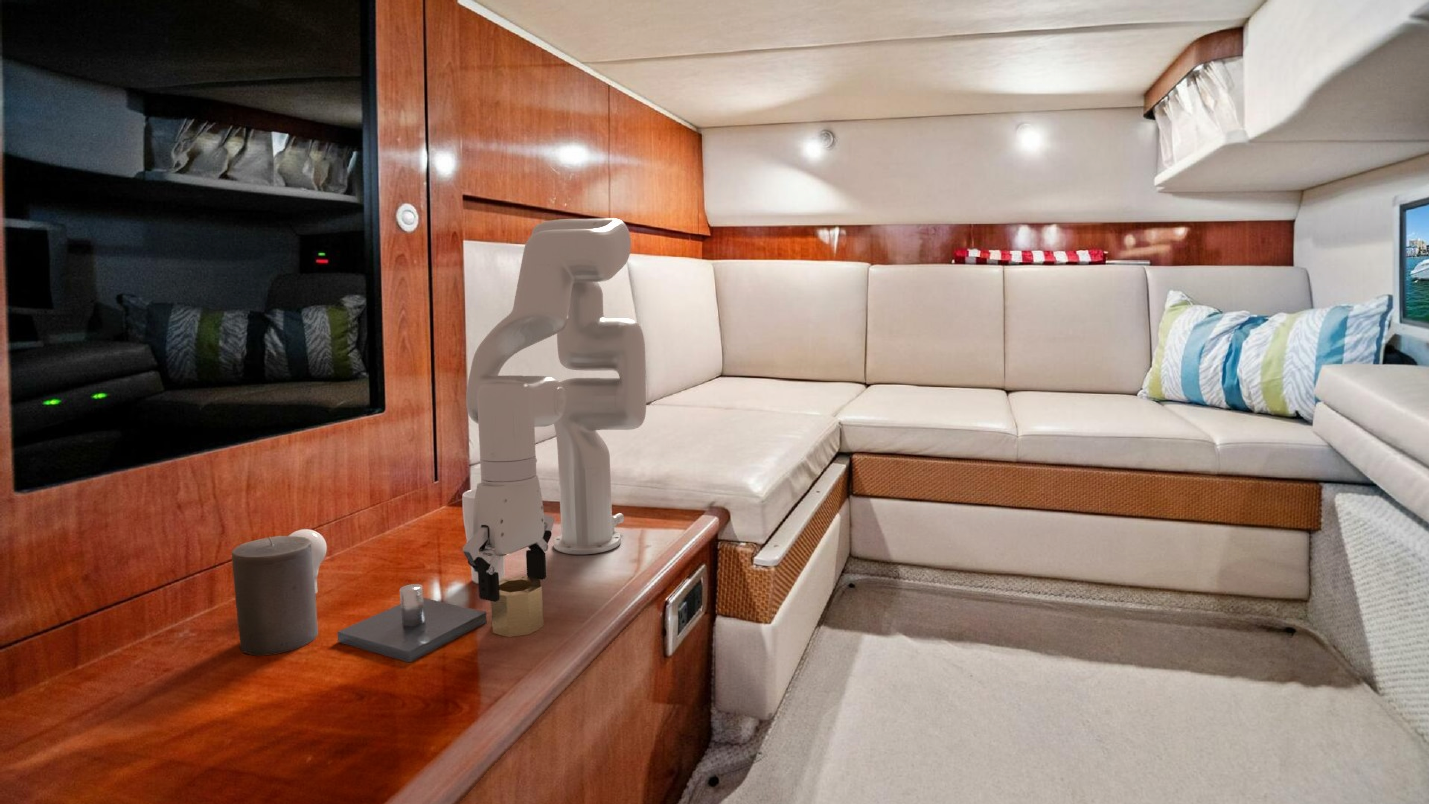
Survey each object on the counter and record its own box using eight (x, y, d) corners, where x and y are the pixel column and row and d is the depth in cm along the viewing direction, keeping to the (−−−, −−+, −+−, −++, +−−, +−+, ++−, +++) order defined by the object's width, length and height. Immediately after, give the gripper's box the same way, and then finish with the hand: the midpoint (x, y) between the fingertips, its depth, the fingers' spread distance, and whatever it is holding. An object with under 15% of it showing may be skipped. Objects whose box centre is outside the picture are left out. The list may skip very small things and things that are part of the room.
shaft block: (418, 605, 121) (415, 565, 120) (486, 622, 115) (484, 579, 114) (338, 642, 109) (334, 597, 108) (409, 662, 103) (406, 615, 102)
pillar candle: (237, 662, 104) (227, 552, 102) (242, 634, 112) (232, 532, 110) (320, 646, 108) (311, 541, 106) (318, 620, 117) (310, 522, 115)
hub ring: (515, 612, 118) (513, 574, 117) (552, 620, 115) (550, 581, 114) (482, 630, 112) (479, 590, 111) (520, 639, 109) (517, 598, 108)
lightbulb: (296, 590, 129) (290, 525, 127) (337, 588, 129) (331, 523, 128) (278, 605, 122) (272, 537, 121) (321, 603, 123) (315, 535, 121)
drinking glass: (497, 588, 128) (492, 498, 126) (459, 586, 129) (453, 497, 127) (516, 573, 134) (511, 488, 132) (479, 571, 136) (474, 486, 134)
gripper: (529, 457, 119) (533, 567, 121) (441, 479, 104) (448, 604, 106) (569, 461, 116) (573, 574, 118) (484, 484, 101) (490, 613, 103)
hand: (513, 588), depth 112 cm, fingers open, 9 cm apart
